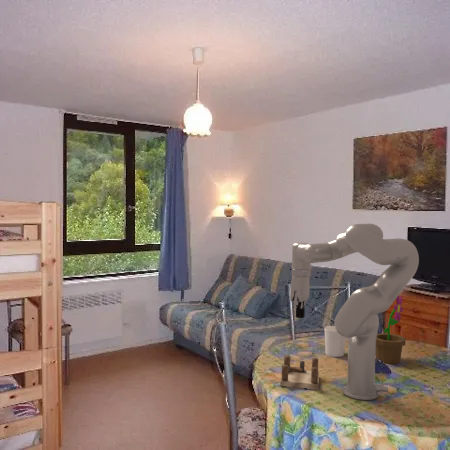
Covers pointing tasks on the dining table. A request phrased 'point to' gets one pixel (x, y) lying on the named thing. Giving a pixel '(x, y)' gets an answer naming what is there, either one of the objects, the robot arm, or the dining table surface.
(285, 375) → the stool
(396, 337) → the flowerpot
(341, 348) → the white paper cup
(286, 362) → the hinged leg
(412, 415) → the dining table surface
